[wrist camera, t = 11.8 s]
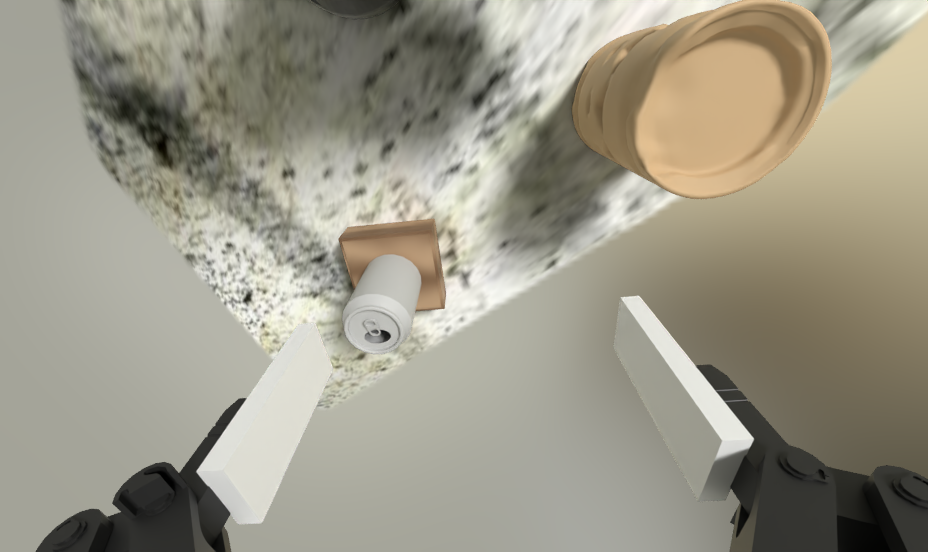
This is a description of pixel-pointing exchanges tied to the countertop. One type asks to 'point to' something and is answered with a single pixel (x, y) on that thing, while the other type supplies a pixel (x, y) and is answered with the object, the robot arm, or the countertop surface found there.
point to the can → (382, 305)
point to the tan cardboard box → (399, 254)
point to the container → (707, 96)
